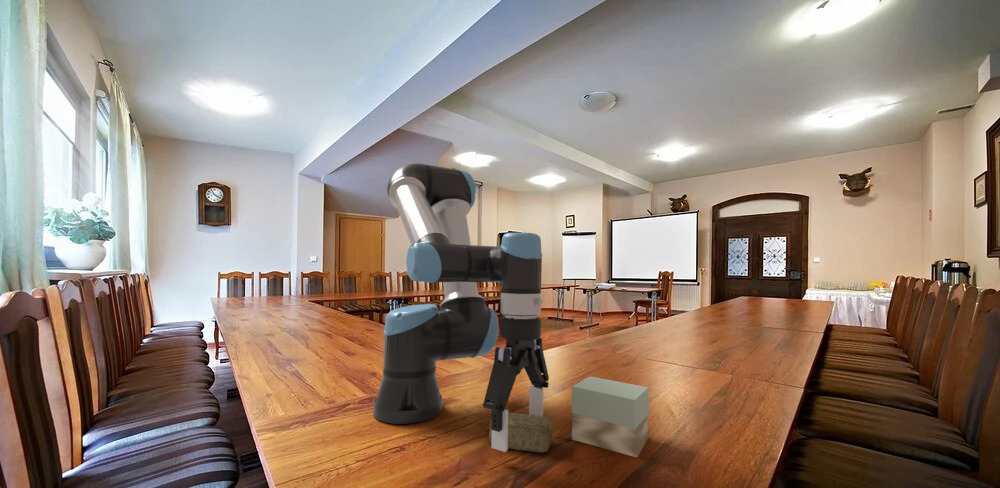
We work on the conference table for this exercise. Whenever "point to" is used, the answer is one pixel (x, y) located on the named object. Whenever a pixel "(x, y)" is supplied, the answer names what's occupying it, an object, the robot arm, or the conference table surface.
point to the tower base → (610, 435)
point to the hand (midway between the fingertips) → (519, 434)
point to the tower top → (611, 401)
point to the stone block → (528, 432)
